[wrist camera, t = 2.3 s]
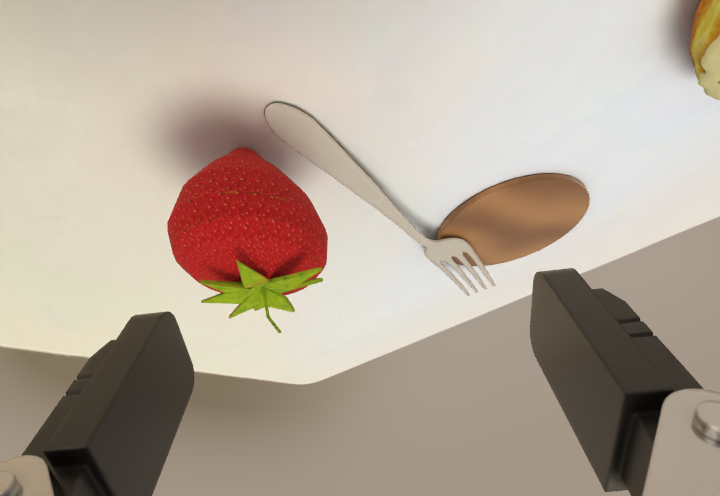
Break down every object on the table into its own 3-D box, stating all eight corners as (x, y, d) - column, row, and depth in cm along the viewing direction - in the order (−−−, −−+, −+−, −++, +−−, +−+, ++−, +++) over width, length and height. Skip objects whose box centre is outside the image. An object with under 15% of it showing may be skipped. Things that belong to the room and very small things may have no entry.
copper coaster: (474, 172, 29) (476, 178, 28) (620, 173, 32) (623, 179, 32) (416, 264, 38) (418, 269, 37) (534, 258, 41) (537, 263, 41)
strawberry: (223, 70, 20) (234, 283, 15) (338, 153, 25) (376, 329, 20) (141, 146, 22) (127, 349, 17) (262, 206, 28) (278, 373, 23)
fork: (295, 85, 21) (298, 114, 20) (494, 265, 39) (500, 284, 38) (243, 122, 22) (244, 150, 21) (459, 279, 40) (464, 298, 39)
